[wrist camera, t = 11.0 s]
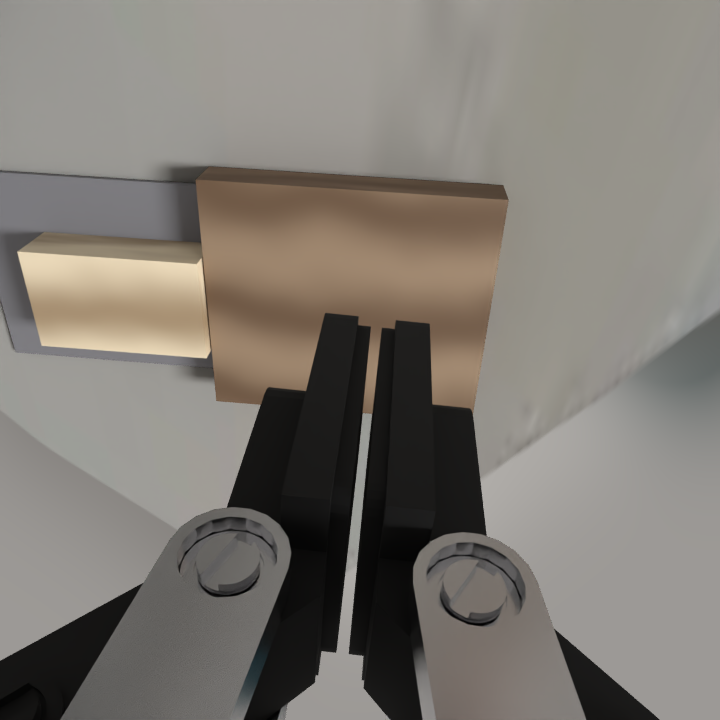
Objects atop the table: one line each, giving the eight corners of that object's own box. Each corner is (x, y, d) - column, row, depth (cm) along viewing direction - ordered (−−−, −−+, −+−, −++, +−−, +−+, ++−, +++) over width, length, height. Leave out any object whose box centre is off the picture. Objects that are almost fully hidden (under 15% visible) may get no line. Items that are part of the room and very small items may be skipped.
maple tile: (44, 232, 38) (17, 251, 35) (212, 243, 37) (196, 264, 35) (65, 321, 41) (41, 345, 38) (220, 333, 40) (206, 358, 38)
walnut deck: (208, 166, 35) (195, 179, 33) (503, 185, 34) (508, 200, 32) (226, 379, 43) (216, 400, 40) (469, 398, 42) (471, 421, 40)
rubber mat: (-33, 168, 36) (-37, 170, 36) (210, 184, 36) (209, 186, 35) (17, 349, 43) (15, 352, 42) (225, 366, 42) (224, 368, 42)
